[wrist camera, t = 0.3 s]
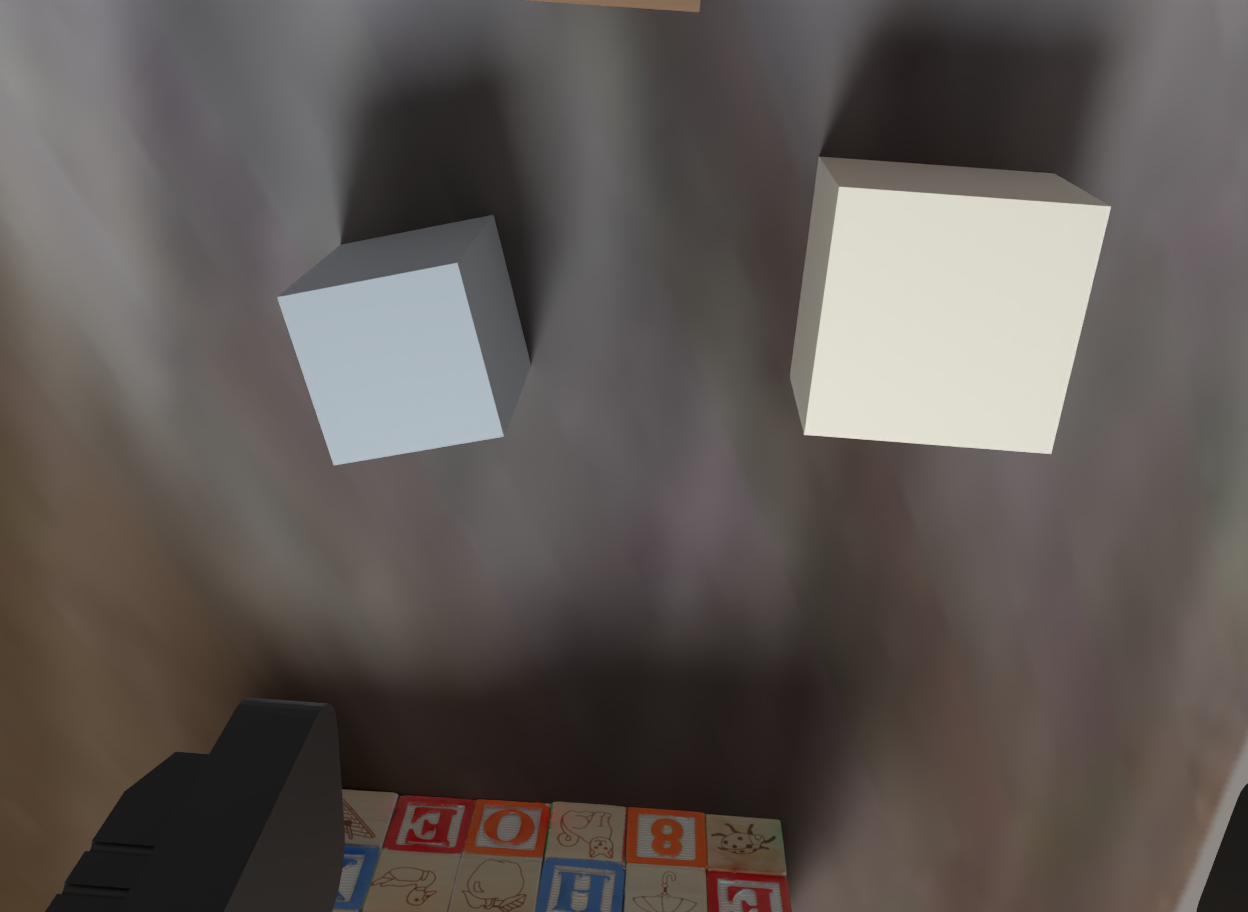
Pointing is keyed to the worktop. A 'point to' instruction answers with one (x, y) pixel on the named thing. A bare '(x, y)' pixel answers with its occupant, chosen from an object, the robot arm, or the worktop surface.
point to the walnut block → (640, 4)
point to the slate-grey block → (410, 340)
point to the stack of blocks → (553, 858)
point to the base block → (942, 303)
